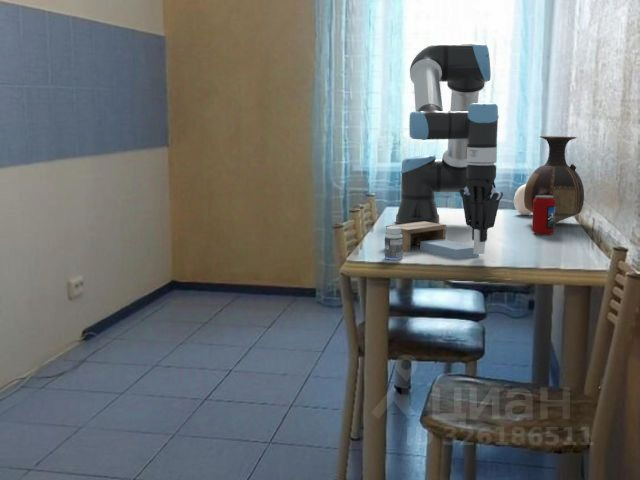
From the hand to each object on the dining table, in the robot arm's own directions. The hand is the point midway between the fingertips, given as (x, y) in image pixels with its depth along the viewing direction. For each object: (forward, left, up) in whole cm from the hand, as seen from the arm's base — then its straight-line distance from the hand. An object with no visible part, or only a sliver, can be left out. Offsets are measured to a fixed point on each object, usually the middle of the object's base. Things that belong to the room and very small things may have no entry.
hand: (479, 253), depth 200 cm
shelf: (-24, 0, -1) cm, 24 cm away
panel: (-11, 0, -2) cm, 11 cm away
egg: (-46, +78, -2) cm, 90 cm away
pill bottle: (-15, -17, -2) cm, 23 cm away
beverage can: (-15, +47, -2) cm, 49 cm away
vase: (-25, +66, -2) cm, 70 cm away
